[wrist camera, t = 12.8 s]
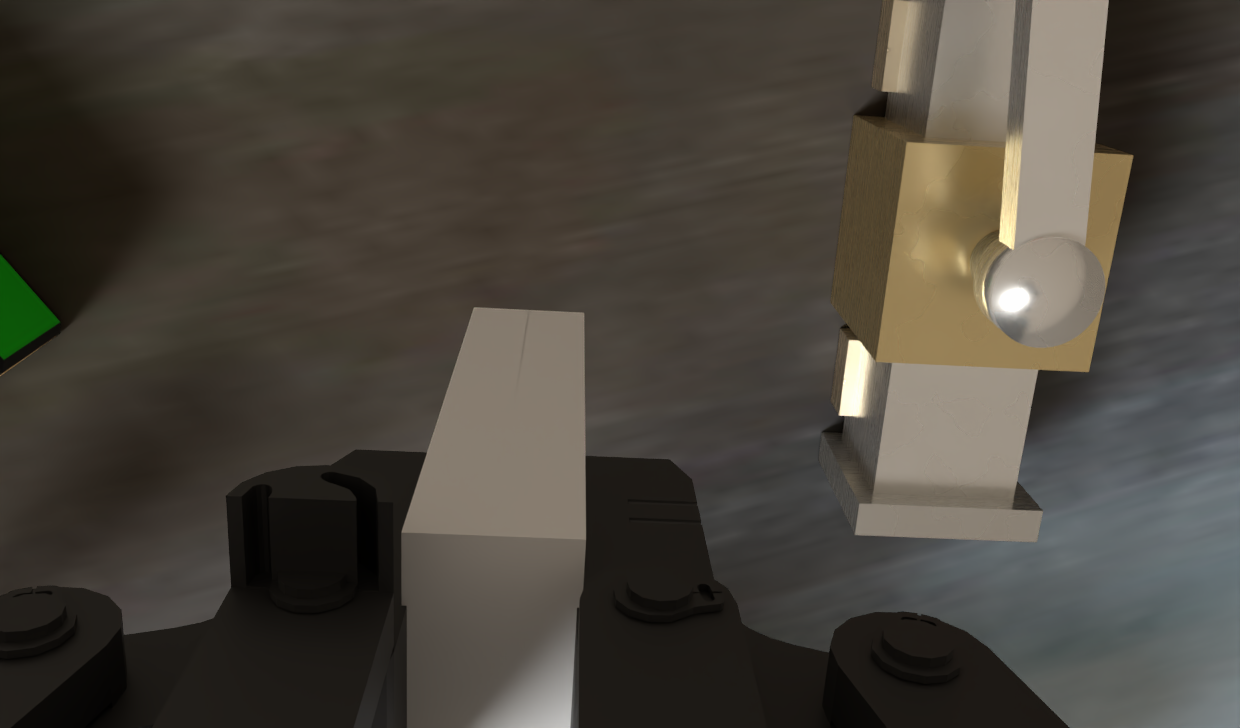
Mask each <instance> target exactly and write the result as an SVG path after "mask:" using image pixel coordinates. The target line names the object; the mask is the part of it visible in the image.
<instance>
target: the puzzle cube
mask: <svg viewBox="0 0 1240 728" xmlns="http://www.w3.org/2000/svg"><path fill="white" fill-rule="evenodd" d="M60 326H61V322H60V321H59V320H58V319H57V317H56V316H55V315H54V314H53V313H52V312H51V311H50V310H49V308H48V307H47V306H46V305H45V304H44V303H43V302H42V301H41V299H40V298H39V297H38V296H37V295H36V294H35V293H34V291H33V290H32V289H31V288H30V287H29V286H28V285H27V284H26V282H25V281H24V280H23V279H22V278H21V277H20V276H19V275H18V273H17V272H16V271H15V270H14V269H13V268H12V267H11V266H10V264H9V263H8V262H7V261H6V260H5V259H4V258H3V256H2V255H1V254H0V376H2V375H3V374H4V373H6V372H7V371H9V370H10V369H11V368H13V367H14V366H16V365H17V364H18V363H20V362H21V361H23V360H24V359H25V358H27V357H28V356H29V355H31V354H32V353H34V352H35V351H36V350H38V349H39V348H41V347H42V346H43V345H45V344H46V343H48V342H49V341H50V340H52V339H53V338H55V337H56V336H57V335H59V334H60Z"/></svg>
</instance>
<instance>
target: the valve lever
mask: <svg viewBox="0 0 1240 728" xmlns="http://www.w3.org/2000/svg"><path fill="white" fill-rule="evenodd" d="M1108 3H1109V0H1016V5H1015V19H1014V34H1013V48H1012V62H1011V76H1010V91H1009V105H1008V119H1007V133H1006V148H1005V162H1004V176H1003V190H1002V205H1001V219H1000V233H999V238H997V239H996V240H995V241H994V242H993V243H992V244H991V245H990V246H989V247H988V248H987V249H986V251H985V252H984V253H983V255H982V257H981V258H980V260H979V262H978V265H977V267H976V270H975V274H974V281H973V289H974V296H975V299H976V302H977V305H978V307H979V309H980V310H981V312H982V313H983V314H984V315H985V317H986V318H987V319H989V320H990V321H991V322H992V323H993V324H994V325H996V326H997V327H998V328H999V329H1000V330H1002V331H1003V332H1004V333H1005V334H1006V335H1007V336H1009V337H1010V338H1011V339H1013V340H1014V341H1016V342H1018V343H1020V344H1022V345H1025V346H1029V347H1035V348H1047V347H1054V346H1058V345H1061V344H1064V343H1066V342H1068V341H1070V340H1072V339H1074V338H1075V337H1077V336H1078V335H1080V334H1081V333H1082V332H1083V331H1085V330H1086V329H1087V328H1088V326H1089V325H1090V324H1091V323H1092V322H1093V320H1094V319H1095V318H1096V316H1097V314H1098V313H1099V310H1100V308H1101V306H1102V303H1103V300H1104V295H1105V276H1104V272H1103V269H1102V266H1101V264H1100V262H1099V261H1098V259H1097V257H1096V256H1095V255H1094V254H1093V253H1092V252H1091V251H1090V250H1089V249H1088V248H1087V247H1085V243H1086V233H1087V222H1088V212H1089V201H1090V191H1091V181H1092V170H1093V160H1094V149H1095V139H1096V128H1097V118H1098V107H1099V97H1100V87H1101V76H1102V66H1103V55H1104V45H1105V34H1106V24H1107V13H1108Z"/></svg>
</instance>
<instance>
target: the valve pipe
mask: <svg viewBox="0 0 1240 728" xmlns="http://www.w3.org/2000/svg"><path fill="white" fill-rule="evenodd" d="M1015 5H1016V0H882V8H881V16H880V23H879V31H878V39H877V47H876V54H875V62H874V70H873V78H872V85H871V87H872V88H874V89H877V90H879V91H883V92H888V98H887V106H886V113H885V117H880V116H863V115H854V118H853V126H852V134H851V142H850V150H849V158H848V166H847V174H846V182H845V190H844V198H843V206H842V214H841V222H840V230H839V238H838V246H837V254H836V262H835V270H834V278H833V286H832V294H831V304H832V305H833V306H834V308H835V309H836V310H837V312H838V313H839V314H840V316H841V317H842V318H843V320H844V321H845V322H846V323H847V325H848V326H849V327H850V329H847V328H840V333H839V341H838V349H837V357H836V364H835V372H834V380H833V388H832V395H831V403H832V404H833V406H834V408H835V410H836V411H837V413H838V415H839V416H845V419H844V427H843V433H834V432H822V434H821V442H820V450H819V457H818V460H819V462H820V465H821V467H822V469H823V471H824V473H825V475H826V477H827V479H828V481H829V483H830V485H831V487H832V489H833V491H834V493H835V495H836V497H837V499H838V501H839V503H840V505H841V508H842V510H843V512H844V514H845V516H846V518H847V520H848V522H849V524H850V526H851V528H852V530H853V532H854V534H855V535H867V536H892V537H917V538H942V539H968V540H993V541H1018V542H1037V539H1038V534H1039V529H1040V524H1041V519H1042V514H1043V510H1042V509H1041V508H1040V507H1039V506H1038V505H1037V503H1036V502H1035V501H1034V500H1033V499H1032V498H1031V497H1030V495H1029V494H1028V493H1027V492H1026V491H1025V490H1024V488H1023V487H1022V486H1021V485H1020V484H1019V483H1018V481H1017V479H1018V473H1019V468H1020V463H1021V458H1022V452H1023V447H1024V442H1025V437H1026V431H1027V426H1028V421H1029V416H1030V410H1031V405H1032V400H1033V395H1034V389H1035V384H1036V379H1037V374H1038V370H1055V371H1076V372H1089V369H1090V364H1091V359H1092V354H1093V350H1094V345H1095V340H1096V335H1097V330H1098V325H1099V320H1100V316H1101V311H1102V306H1103V303H1102V306H1101V308H1100V310H1099V313H1098V314H1097V316H1096V318H1095V319H1094V320H1093V322H1092V323H1091V324H1090V325H1089V326H1088V328H1087V329H1086V330H1085V331H1083V332H1082V333H1081V334H1080V335H1078V336H1077V337H1075V338H1074V339H1072V340H1070V341H1068V342H1066V343H1064V344H1061V345H1058V346H1054V347H1047V348H1035V347H1029V346H1025V345H1022V344H1020V343H1018V342H1016V341H1014V340H1013V339H1011V338H1010V337H1009V336H1007V335H1006V334H1005V333H1004V332H1003V331H1002V330H1000V329H999V328H998V327H997V326H996V325H994V324H993V323H992V322H991V321H990V320H989V319H987V318H986V317H985V315H984V314H983V313H982V312H981V310H980V309H979V307H978V305H977V302H976V299H975V296H974V289H973V281H974V274H975V270H976V267H977V265H978V262H979V260H980V258H981V257H982V255H983V253H984V252H985V251H986V249H987V248H988V247H989V246H990V245H991V244H992V243H993V242H994V241H995V240H996V239H997V238H999V233H1000V219H1001V205H1002V190H1003V176H1004V162H1005V148H1006V133H1007V119H1008V105H1009V91H1010V76H1011V62H1012V48H1013V34H1014V19H1015ZM1132 160H1133V155H1131V154H1128V153H1125V152H1122V151H1119V150H1116V149H1113V148H1110V147H1107V146H1104V145H1101V144H1098V143H1095V149H1094V160H1093V170H1092V181H1091V191H1090V201H1089V212H1088V222H1087V233H1086V243H1085V247H1087V248H1088V249H1089V250H1090V251H1091V252H1092V253H1093V254H1094V255H1095V256H1096V257H1097V259H1098V261H1099V262H1100V264H1101V266H1102V269H1103V272H1104V276H1105V291H1106V286H1107V282H1108V277H1109V272H1110V267H1111V262H1112V257H1113V252H1114V248H1115V243H1116V238H1117V233H1118V228H1119V223H1120V219H1121V214H1122V209H1123V204H1124V199H1125V194H1126V189H1127V185H1128V180H1129V175H1130V170H1131V165H1132ZM1104 296H1105V295H1104ZM1103 301H1104V300H1103Z"/></svg>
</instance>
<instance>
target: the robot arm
mask: <svg viewBox="0 0 1240 728" xmlns="http://www.w3.org/2000/svg"><path fill="white" fill-rule="evenodd" d="M226 503H227V520H228V538H229V555H230V573H231V589H230V590H229V592H228V594H227V596H226V597H225V599H224V601H223V603H222V605H221V606H220V608H219V610H218V612H217V613H216V615H215V617H214V618H213V619H210V620H207V621H204V622H201V623H196V624H191V625H187V626H182V627H177V628H171V629H164V630H157V631H150V632H143V633H136V634H129V635H124V634H123V623H122V612H121V609H120V608H119V607H118V606H117V605H116V604H115V603H114V602H113V601H112V600H111V599H110V598H109V597H108V596H106V595H103V594H100V593H96V592H93V591H90V590H87V589H84V588H69V587H58V586H37V588H36V589H32V587H29V588H23V589H17V590H14V591H11V592H9V593H8V594H5V595H1V596H0V728H1069V727H1068V726H1067V725H1066V724H1065V723H1064V722H1063V721H1062V720H1061V719H1060V718H1059V717H1058V716H1057V715H1056V714H1055V713H1054V712H1053V711H1052V710H1051V709H1050V708H1049V707H1048V706H1047V705H1046V704H1045V703H1044V702H1043V701H1042V700H1041V699H1040V698H1039V697H1038V696H1037V695H1036V694H1035V693H1034V692H1033V691H1032V690H1031V689H1030V688H1029V687H1028V686H1027V685H1026V684H1025V683H1024V682H1023V681H1022V680H1021V679H1020V678H1019V677H1017V676H1016V675H1015V674H1014V673H1013V672H1012V671H1011V670H1010V669H1009V668H1008V667H1007V666H1006V665H1005V664H1004V663H1003V662H1002V661H1001V660H1000V659H999V658H998V657H997V656H996V655H995V654H994V653H993V652H992V651H991V650H990V649H989V648H988V647H987V646H985V645H984V644H982V643H981V642H980V641H978V640H977V639H976V638H974V637H973V636H971V635H970V634H969V633H967V632H966V631H963V630H961V629H959V628H956V627H954V626H952V625H949V624H947V623H944V622H942V621H940V620H939V619H937V618H934V617H930V616H926V615H922V614H921V616H919V615H917V613H910V612H897V613H896V612H874V613H870V614H866V615H862V616H858V617H854V618H850V619H849V620H848V621H846V622H845V623H844V624H842V625H841V626H840V627H838V628H837V629H835V631H834V635H833V638H832V642H831V645H830V651H829V653H827V652H823V651H818V650H814V649H809V648H805V647H801V646H796V645H792V644H789V643H785V642H782V641H779V640H775V639H772V638H769V637H767V636H765V635H762V634H760V633H758V632H756V631H754V630H751V629H749V628H748V627H746V626H745V625H743V624H742V622H741V618H740V614H739V610H738V606H737V603H736V602H735V600H734V598H733V597H732V595H731V593H730V592H729V590H728V589H727V588H726V587H724V586H723V585H722V584H720V583H719V582H717V581H716V580H714V578H713V573H712V569H711V564H710V560H709V555H708V550H707V546H706V541H705V537H704V532H703V528H702V525H701V519H700V514H699V509H698V506H697V500H696V496H695V491H694V487H693V482H692V479H691V478H690V477H688V476H687V475H686V474H685V473H684V472H683V471H682V470H681V469H680V468H678V467H677V466H676V465H675V464H674V463H673V462H672V461H671V460H668V459H644V458H621V457H597V456H585V357H584V313H578V312H558V311H538V310H517V309H497V308H476V307H474V309H473V312H472V315H471V318H470V321H469V324H468V328H467V331H466V334H465V337H464V340H463V343H462V346H461V349H460V352H459V355H458V358H457V362H456V365H455V368H454V371H453V374H452V377H451V380H450V383H449V386H448V389H447V393H446V396H445V399H444V402H443V405H442V408H441V411H440V414H439V417H438V420H437V424H436V427H435V430H434V433H433V436H432V439H431V442H430V445H429V448H428V451H427V453H424V452H400V451H376V450H354V451H353V452H351V453H350V454H348V455H346V456H345V457H343V458H342V459H340V460H339V461H337V462H336V463H334V464H332V465H331V466H329V465H322V466H296V467H291V468H286V469H281V470H276V471H271V472H266V473H264V474H261V475H259V476H256V477H254V478H251V479H249V480H247V481H244V482H242V483H240V484H239V485H238V486H237V487H236V488H235V489H233V490H232V491H231V492H230V493H229V494H228V495H227V496H226Z"/></svg>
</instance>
